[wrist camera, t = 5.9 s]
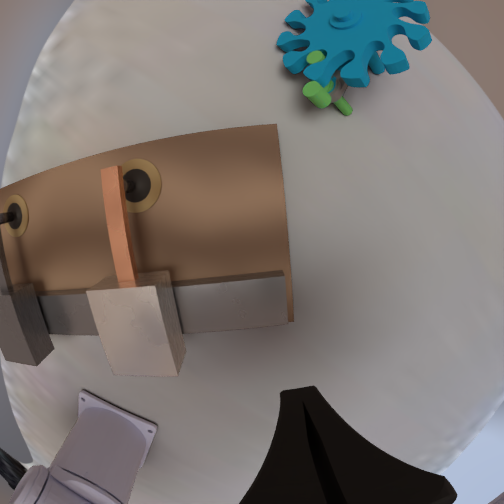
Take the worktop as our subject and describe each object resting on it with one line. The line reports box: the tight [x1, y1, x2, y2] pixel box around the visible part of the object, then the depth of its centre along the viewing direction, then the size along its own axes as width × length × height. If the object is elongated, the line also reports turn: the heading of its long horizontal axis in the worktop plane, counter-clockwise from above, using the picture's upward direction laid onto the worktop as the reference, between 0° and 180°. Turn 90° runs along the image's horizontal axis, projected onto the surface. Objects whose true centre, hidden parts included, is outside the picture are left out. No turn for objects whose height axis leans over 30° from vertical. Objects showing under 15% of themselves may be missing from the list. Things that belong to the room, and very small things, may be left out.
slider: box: [86, 165, 186, 376], centre depth 14 cm, size 11×4×4 cm, turn 6°
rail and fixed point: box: [0, 211, 288, 366], centre depth 15 cm, size 11×21×4 cm, turn 96°
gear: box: [276, 0, 432, 116], centre depth 13 cm, size 11×6×10 cm
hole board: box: [0, 124, 294, 322], centre depth 17 cm, size 12×22×2 cm, turn 96°
